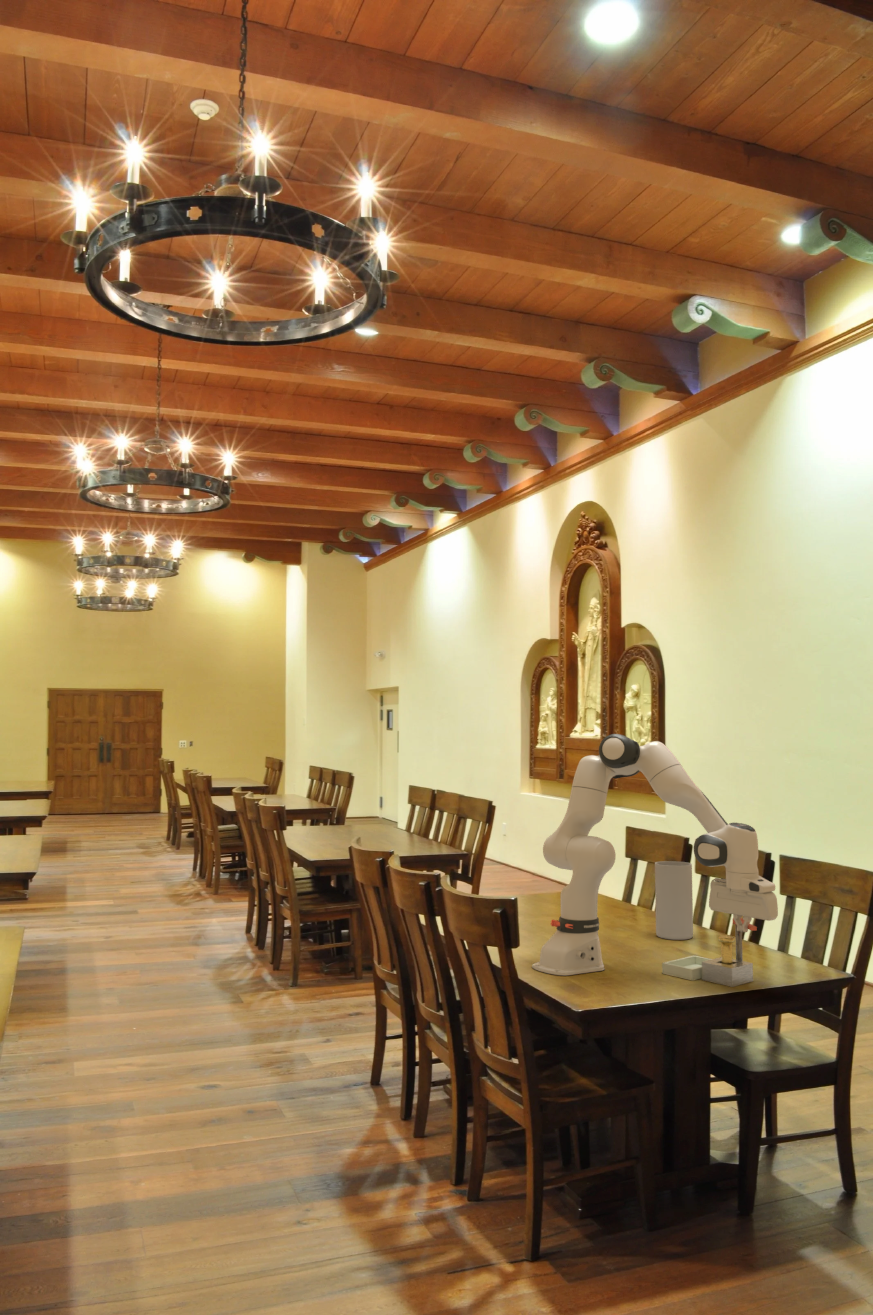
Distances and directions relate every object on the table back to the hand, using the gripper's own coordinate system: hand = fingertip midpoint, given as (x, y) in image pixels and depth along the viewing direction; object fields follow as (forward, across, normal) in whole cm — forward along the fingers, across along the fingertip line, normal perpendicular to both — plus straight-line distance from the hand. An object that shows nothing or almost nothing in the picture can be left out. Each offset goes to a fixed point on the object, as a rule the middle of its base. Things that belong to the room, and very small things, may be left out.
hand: (742, 931), depth 272 cm
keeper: (-1, -2, +4) cm, 4 cm away
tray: (+15, -17, 0) cm, 22 cm away
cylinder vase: (+15, -52, +38) cm, 66 cm away
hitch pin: (+15, -5, 0) cm, 15 cm away
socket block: (+15, -5, +2) cm, 16 cm away
